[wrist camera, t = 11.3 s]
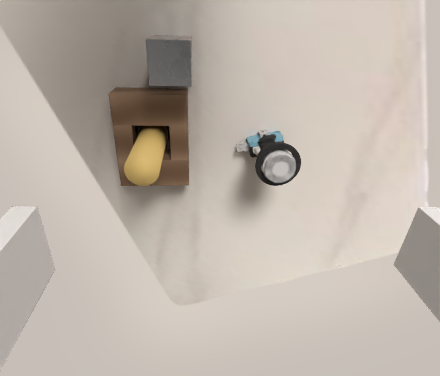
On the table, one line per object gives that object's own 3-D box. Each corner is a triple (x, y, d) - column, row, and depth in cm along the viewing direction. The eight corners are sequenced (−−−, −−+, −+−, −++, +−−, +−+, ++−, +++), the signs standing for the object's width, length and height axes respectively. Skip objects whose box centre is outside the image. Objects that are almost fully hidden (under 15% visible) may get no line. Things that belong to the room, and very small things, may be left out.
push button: (238, 161, 45) (249, 195, 36) (232, 127, 43) (242, 154, 34) (283, 153, 45) (304, 184, 36) (280, 117, 43) (302, 142, 34)
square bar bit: (156, 35, 37) (145, 38, 29) (191, 36, 37) (190, 40, 29) (158, 72, 39) (149, 85, 31) (191, 73, 39) (191, 86, 31)
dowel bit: (140, 120, 41) (122, 154, 31) (167, 120, 42) (158, 154, 31) (142, 145, 43) (126, 185, 32) (168, 145, 43) (160, 185, 33)
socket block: (116, 87, 39) (108, 94, 35) (187, 88, 40) (186, 95, 36) (126, 172, 45) (121, 185, 41) (188, 172, 45) (188, 185, 42)
